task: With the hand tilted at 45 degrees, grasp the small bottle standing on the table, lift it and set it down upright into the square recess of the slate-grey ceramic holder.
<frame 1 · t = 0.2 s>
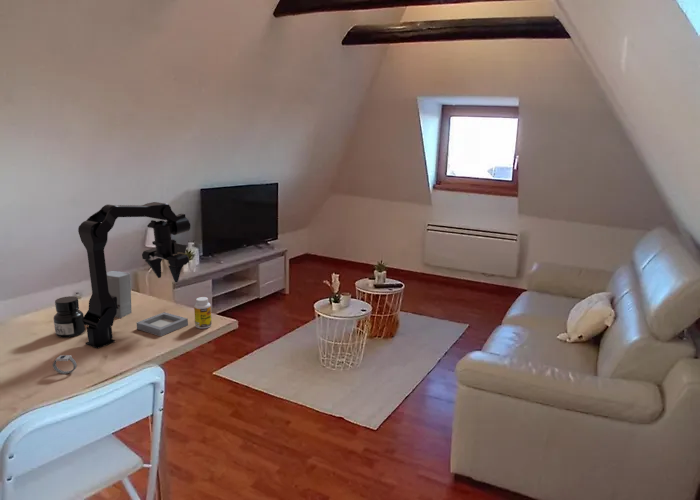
hand: (168, 279, 191), 14 cm above the table, tool pointing down, fingers open, 9 cm apart
ink bottle: (70, 333, 180), on the table
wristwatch: (65, 373, 152), on the table
holder: (162, 327, 186), on the table
supplement bottle: (203, 326, 187), on the table
skincare box: (118, 314, 198), on the table
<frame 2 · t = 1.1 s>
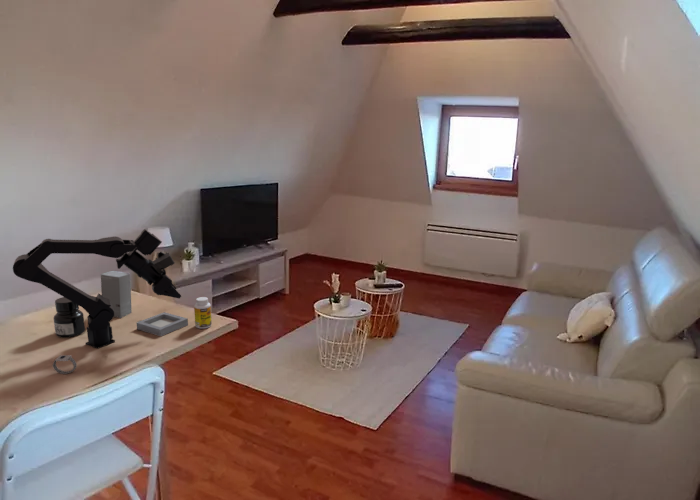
hand: (177, 293, 180), 13 cm above the table, tool tilted 45°, fingers open, 9 cm apart
nothing on the table moved.
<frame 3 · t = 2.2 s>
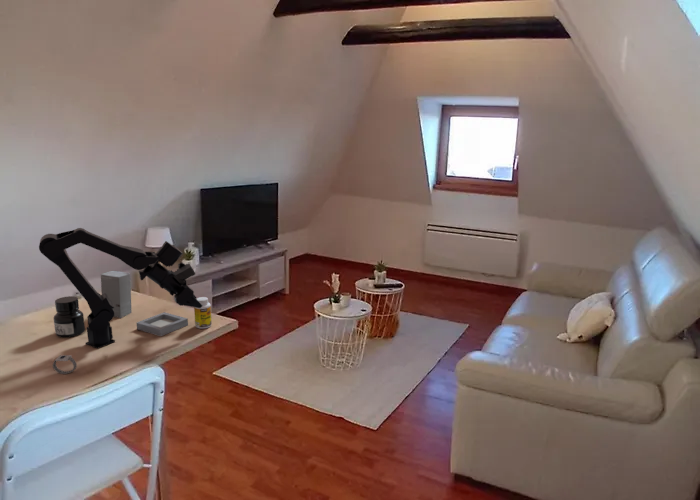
hand: (198, 302, 184), 9 cm above the table, tool tilted 45°, fingers open, 9 cm apart
nothing on the table moved.
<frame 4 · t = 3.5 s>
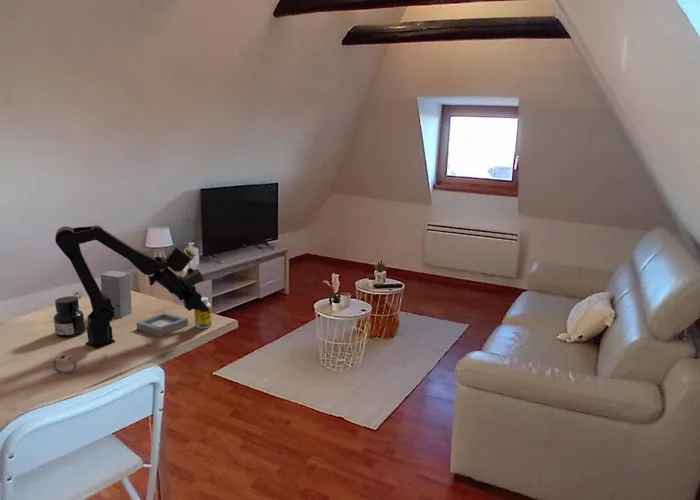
hand: (206, 307, 186), 7 cm above the table, tool tilted 45°, fingers closed on supplement bottle, 6 cm apart
supplement bottle: (203, 326, 187), on the table, touching gripper
everything else where it was.
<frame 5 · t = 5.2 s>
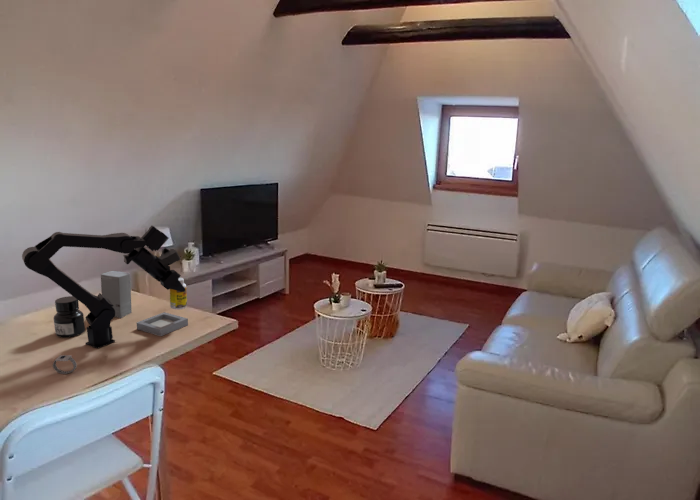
hand: (181, 288, 184), 14 cm above the table, tool tilted 45°, fingers closed on supplement bottle, 6 cm apart
supplement bottle: (178, 307, 185), point 7 cm above the table, touching gripper
everything else where it was.
when the fingers open (8 cm above the table, at t = 7.1 s): supplement bottle stays where it is, resting on holder.
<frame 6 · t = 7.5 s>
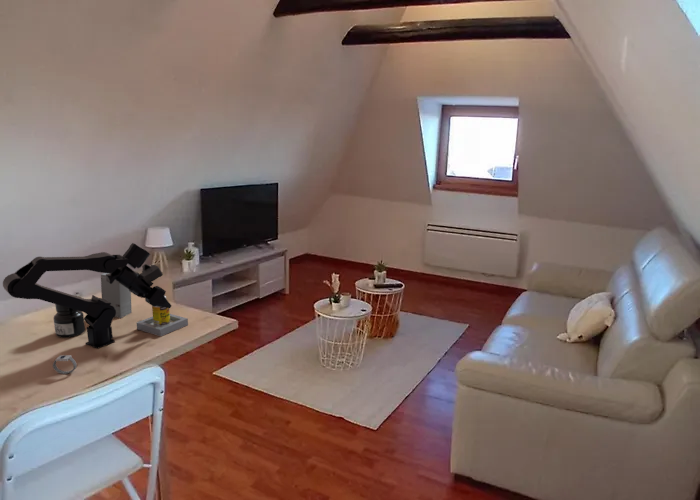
hand: (164, 303, 185), 8 cm above the table, tool tilted 45°, fingers open, 9 cm apart
supplement bottle: (162, 325, 186), point 1 cm above the table, touching holder
everything else where it was.
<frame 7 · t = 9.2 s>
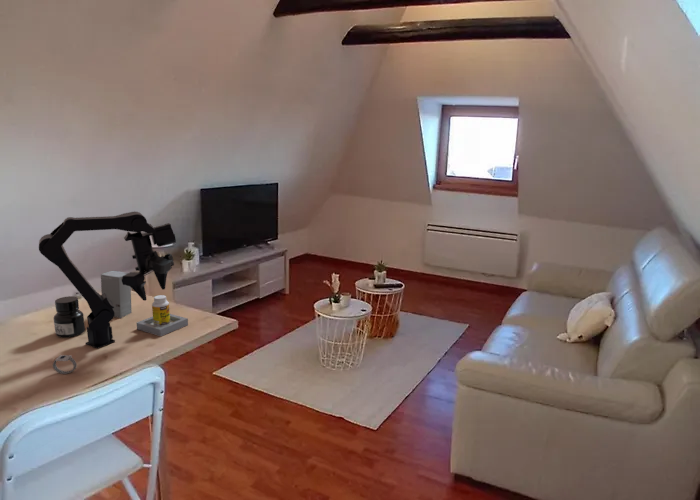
hand: (154, 294, 177), 14 cm above the table, tool pointing down, fingers open, 9 cm apart
nothing on the table moved.
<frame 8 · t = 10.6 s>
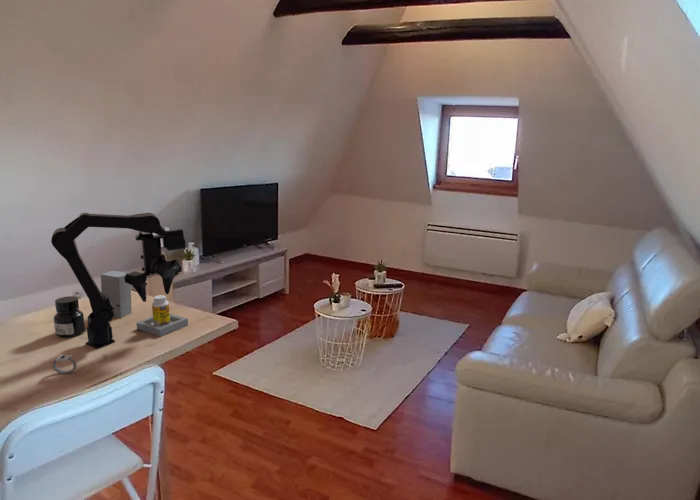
hand: (156, 297, 177), 13 cm above the table, tool pointing down, fingers open, 9 cm apart
nothing on the table moved.
at the end: supplement bottle inside the target area on the holder (0.2 cm from its centre), point 0.7 cm above the holder's base; supplement bottle tilted 0°; the gripper is holding nothing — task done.
